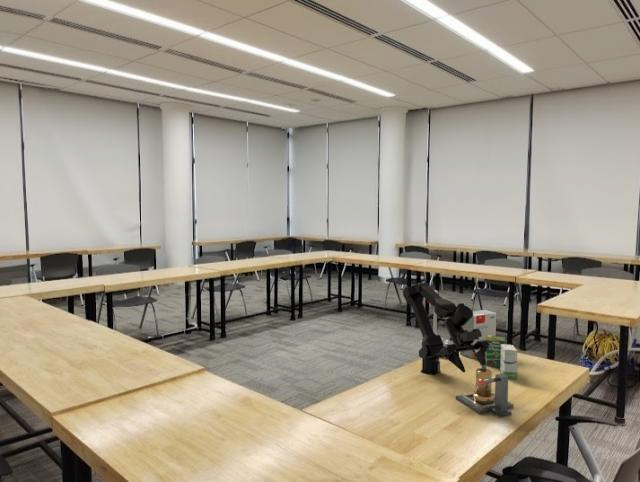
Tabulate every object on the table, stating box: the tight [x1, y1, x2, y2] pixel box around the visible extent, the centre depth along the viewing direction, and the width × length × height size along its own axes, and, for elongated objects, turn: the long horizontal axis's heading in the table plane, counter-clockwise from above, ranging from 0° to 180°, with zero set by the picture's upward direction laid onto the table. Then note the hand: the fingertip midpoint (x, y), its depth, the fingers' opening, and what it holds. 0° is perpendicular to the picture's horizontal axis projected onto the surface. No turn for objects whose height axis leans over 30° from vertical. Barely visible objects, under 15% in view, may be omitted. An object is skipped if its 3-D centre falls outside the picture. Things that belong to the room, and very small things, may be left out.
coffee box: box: [485, 335, 507, 368], centre depth 194 cm, size 8×3×13 cm, turn 59°
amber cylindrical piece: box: [472, 365, 495, 404], centre depth 157 cm, size 7×7×12 cm
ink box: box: [499, 343, 518, 380], centre depth 183 cm, size 9×5×12 cm, turn 168°
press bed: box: [455, 372, 514, 418], centre depth 155 cm, size 17×16×13 cm
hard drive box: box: [459, 309, 497, 359], centre depth 209 cm, size 16×8×20 cm, turn 117°
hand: (475, 370), depth 161 cm, fingers open, 9 cm apart
